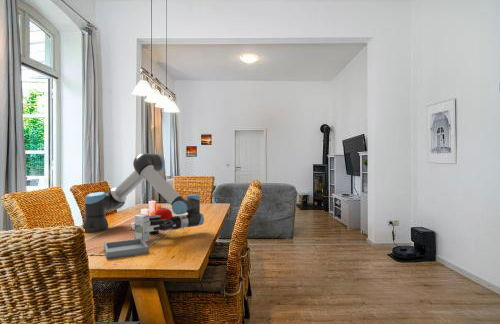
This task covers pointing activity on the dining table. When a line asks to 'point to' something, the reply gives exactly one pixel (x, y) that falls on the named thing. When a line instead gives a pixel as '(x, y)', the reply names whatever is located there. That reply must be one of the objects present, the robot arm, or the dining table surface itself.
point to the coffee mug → (154, 217)
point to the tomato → (164, 214)
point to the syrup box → (141, 227)
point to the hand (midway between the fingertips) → (142, 227)
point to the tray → (125, 248)
